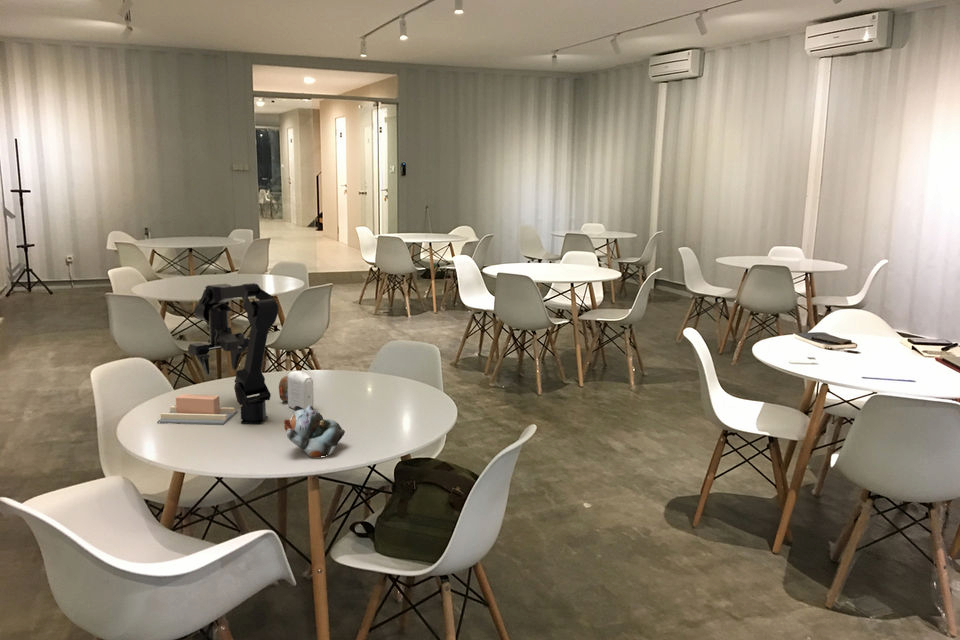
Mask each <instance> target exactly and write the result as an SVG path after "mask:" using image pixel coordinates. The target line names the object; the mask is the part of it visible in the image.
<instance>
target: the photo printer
mask: <svg viewBox="0 0 960 640" xmlns="http://www.w3.org/2000/svg"><path fill="white" fill-rule="evenodd" d="M288 374H289V375H288ZM288 374H287V375H288V401H287V407H289V408H291V409H294V407H295V406H299V407H301V408H303V409H306V408H307V407H308V406H309V405H311V406H312V407H313V408H314V380H313V378H312V376H310V375H309V374H307V373H306V372H304V371H301V370H300V371H299V370H295V371H289V373H288Z"/></svg>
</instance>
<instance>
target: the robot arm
mask: <svg viewBox="0 0 960 640" xmlns="http://www.w3.org/2000/svg"><path fill="white" fill-rule="evenodd" d="M204 288H205V289H204V290H203V293H202V295H201V297H200V299H199V300H198V303H197V304H196V305H195V306H194V310H193V314H194V316H195V318H196V319H198V320H201V321H206V322H209V326H207V331H209V338H208V339H207V343H203V342H194V343H190V344H189V346H188V347H187V351H188V354H190V355H192V356H195V357H196V358H197V359H198V360H197V361H199V363H200V364H201V366H202V369H203V370H204V373H205V374H206V375H207V376H208V375H210V363H209V359H210V357H211V355H210V354H208V353H209V352H210V351H213V350H218V349H222V350H223V351H225V352H229V353H230V360H231V367H232V370H236V369H237V366H238V363H239V360H240V357H241V355H242V354H243V352H244V351H246V354H245V355H246V356H245V362H244V366H243V368H241V369H239V370H236V372H235V380H234V388H233V389H234V392H235V397H236V401H237V403H238V405H240V419H241V421H240V423H241V424H254V425H255V424H257V425H260V424H261V425H262V424H263V423H264V422H265V421H266V420H267V419H268V418H269V416H268V415H267V410H266V409H267V408H266V405H267V404H266V401H270V400H271V397H272V393H271V392H270V390H269V387H268V386H267V384H266V381H265V379H266V378H265V376H264V374H263V372H262V367H263V361H264V355H265V351H266V345H267V339H268V334H269V330H270V328H271V327H272V326H273V325H274V324H275V322H276V320H277V318H278V315H279V310H280V309H279V308H280V307H279V305H278V303H277V301H276V300H275V299H274V297H273V296H272V295H271V294H269V292H266V291H265V290H264V289H262V288H261V287H260V286H259V284H257V283H256V282H255V283H254V282H253V283H250V282H249V283H243V284H241V285H231V284H228V283H219V284H210V285H206V286H205V287H204ZM254 297H255V298H256V299H257V300H252V301H251V300H250V299H249V298H254ZM234 298H235V299H236V298H241V299H242V309H244V312H245V313H246V318H247V320H248V323H249V325H250V332H249V336H248V337H249V338H248V337H246V336H245V333H243V332H237V333H233V332H232V327H230V326H229V312H230V311H232V309H231V307H230V306H229V305H228V304H227V303H228V302H230V301H232V300H233V299H234Z"/></svg>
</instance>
